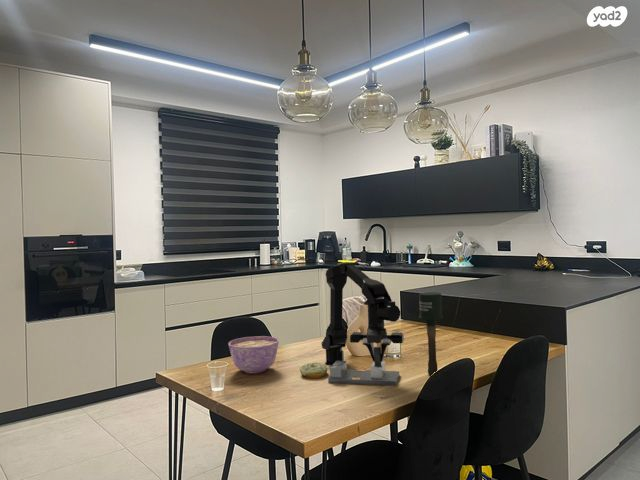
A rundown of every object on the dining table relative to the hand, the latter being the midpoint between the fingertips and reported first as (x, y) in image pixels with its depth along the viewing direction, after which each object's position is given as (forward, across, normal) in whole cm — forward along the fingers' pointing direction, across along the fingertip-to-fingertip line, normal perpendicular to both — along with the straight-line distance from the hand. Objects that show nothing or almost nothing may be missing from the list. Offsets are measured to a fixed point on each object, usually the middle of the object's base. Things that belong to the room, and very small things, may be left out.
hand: (377, 361), depth 170 cm
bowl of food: (+7, -50, +5) cm, 51 cm away
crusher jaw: (+5, 0, 0) cm, 5 cm away
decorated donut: (+7, -25, +3) cm, 26 cm away
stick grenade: (+7, +19, +8) cm, 22 cm away
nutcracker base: (+7, -5, 0) cm, 8 cm away
